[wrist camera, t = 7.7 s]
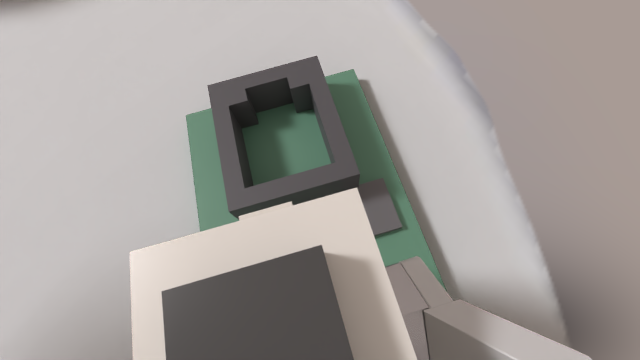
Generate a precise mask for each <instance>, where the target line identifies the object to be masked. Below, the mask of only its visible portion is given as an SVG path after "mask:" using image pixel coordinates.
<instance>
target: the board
mask: <svg viewBox="0 0 640 360" xmlns="http://www.w3.org/2000/svg"><path fill="white" fill-rule="evenodd" d="M208 90H209V96H210V102H211V109H207V110H203V111H200V112H196V113H192V114H189V115H186V120H187V128H188V136H189V145H190V153H191V161H192V169H193V177H194V185H195V193H196V201H197V209H198V218H199V226H200V232H201V231H205V230H208V229H212V228H216V227H219V226H223V225H226V224H230V223H233V222H237V221H239V216H241V215H245V214H248V213H252V212H255V211H259V210H262V209H266V208H269V207H273V206H276V205H280V204H284V203H287V202H291V201H292V204H293V205H297V204H300V203H304V202H307V201H311V200H314V199H318V198H321V197H325V196H328V195H332V194H335V193H339V192H342V191H346V190H349V189H353V188H356V187H357V189H358V192H359V195H360V197H361V200H362V203H363V206H364V209H365V212H366V214H367V217H368V220H369V223H370V226H371V229H372V232H373V234H374V237H375V240H376V243H377V246H378V249H379V252H380V254H381V257H382V260H383V263H384V266H388V265H391V264H395V263H399V262H400V261H403V260H406V259H409V258H412V257H415V256H418V257H420V258H421V259H422V261H423V262H424V263H425V264H426V266H427V267H428V268H429V270H430V271H431V272H432V274H433V275H434V276H435V277H436V279H437V280H438V281H439V283H440V284H441V285H442V286H443V288H444V289H445V290H446V288H445V286H444V284H443V281H442V279H441V276H440V274H439V272H438V269H437V267H436V264H435V262H434V260H433V257H432V255H431V253H430V250H429V248H428V245H427V243H426V241H425V238H424V236H423V233H422V231H421V229H420V226H419V224H418V222H417V219H416V217H415V214H414V212H413V210H412V207H411V205H410V203H409V200H408V198H407V195H406V193H405V191H404V188H403V186H402V183H401V181H400V179H399V176H398V174H397V172H396V169H395V167H394V164H393V162H392V160H391V157H390V155H389V153H388V150H387V148H386V145H385V143H384V141H383V138H382V136H381V133H380V131H379V129H378V126H377V124H376V122H375V119H374V117H373V114H372V112H371V110H370V107H369V105H368V102H367V100H366V98H365V95H364V93H363V91H362V88H361V86H360V83H359V81H358V79H357V76H356V74H355V72H354V69H352V70H348V71H345V72H341V73H337V74H334V75H330V76H327V77H325V76H324V74H323V71H322V68H321V66H320V63H319V60H318V57H317V56H314V57H310V58H307V59H303V60H299V61H296V62H292V63H288V64H285V65H281V66H277V67H274V68H270V69H266V70H263V71H259V72H255V73H252V74H248V75H244V76H241V77H237V78H233V79H230V80H226V81H222V82H219V83H215V84H211V85H208ZM446 292H447V291H446Z"/></svg>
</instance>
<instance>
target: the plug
mask: <svg viewBox="0 0 640 360" xmlns="http://www.w3.org/2000/svg"><path fill="white" fill-rule="evenodd" d="M130 283H131V317H132V351H133V360H417V357H416V354H415V351H414V348H413V346H412V343H411V340H410V337H409V334H408V331H407V329H406V326H405V323H404V320H403V317H402V314H401V311H400V309H399V306H398V303H397V300H396V297H395V294H394V291H393V289H392V286H391V283H390V280H389V277H388V274H387V271H386V269H385V266H384V263H383V260H382V257H381V254H380V252H379V249H378V246H377V243H376V240H375V237H374V234H373V232H372V229H371V226H370V223H369V220H368V217H367V214H366V212H365V209H364V206H363V203H362V200H361V197H360V195H359V192H358V189H357V187H356V188H353V189H349V190H346V191H342V192H339V193H335V194H332V195H328V196H325V197H321V198H318V199H314V200H311V201H307V202H304V203H300V204H297V205H293V204H292V201H291V202H287V203H284V204H280V205H276V206H273V207H269V208H266V209H262V210H259V211H255V212H252V213H248V214H245V215H241V216H239V221H237V222H233V223H230V224H226V225H223V226H219V227H216V228H212V229H208V230H205V231H201V232H198V233H194V234H191V235H187V236H184V237H180V238H177V239H173V240H170V241H166V242H163V243H159V244H156V245H152V246H149V247H145V248H142V249H138V250H135V251H131V252H130Z"/></svg>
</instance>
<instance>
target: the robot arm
mask: <svg viewBox="0 0 640 360" xmlns="http://www.w3.org/2000/svg"><path fill="white" fill-rule="evenodd" d="M385 269H386V271H387V274H388V277H389V280H390V283H391V286H392V289H393V291H394V294H395V297H396V300H397V303H398V306H399V309H400V311H401V314H402V317H403V320H404V323H405V326H406V329H407V331H408V334H409V337H410V340H411V343H412V346H413V348H414V351H415V354H416V357H417V360H592V359H591V358H590V357H589V356H587V355H585V354H583V353H580V352H578V351H576V350H574V349H571V348H569V347H567V346H565V345H562V344H560V343H558V342H556V341H553V340H551V339H549V338H547V337H544V336H542V335H540V334H538V333H535V332H533V331H531V330H528V329H526V328H524V327H522V326H519V325H517V324H515V323H513V322H510V321H508V320H506V319H504V318H501V317H499V316H497V315H495V314H492V313H490V312H488V311H485V310H483V309H481V308H479V307H476V306H474V305H472V304H470V303H467V302H465V301H463V300H461V299H459V300H455V301H453V299H452V298H451V297H450V296H449V294H448V293H447V292H446V290H445V289H444V288H443V286H442V285H441V284H440V283H439V281H438V280H437V279H436V277H435V276H434V275H433V274H432V272H431V271H430V270H429V268H428V267H427V266H426V264H425V263H424V262H423V261H422V259H421V258H420V257H418V256H415V257H412V258H409V259H406V260H403V261H400V262H399V263H395V264H391V265H388V266H385Z"/></svg>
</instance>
